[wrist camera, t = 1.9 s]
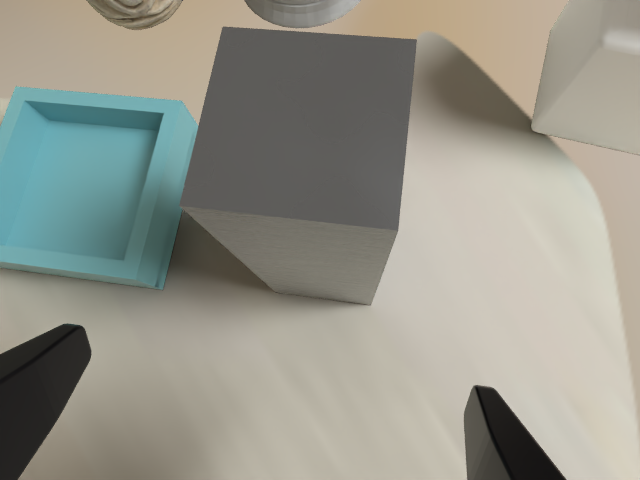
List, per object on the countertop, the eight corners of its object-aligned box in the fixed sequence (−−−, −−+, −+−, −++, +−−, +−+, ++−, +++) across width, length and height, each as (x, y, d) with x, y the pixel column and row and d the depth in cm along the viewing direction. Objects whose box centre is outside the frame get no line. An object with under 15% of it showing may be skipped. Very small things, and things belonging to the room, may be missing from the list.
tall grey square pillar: (370, 305, 22) (397, 230, 9) (275, 292, 22) (179, 205, 10) (381, 213, 23) (416, 39, 11) (290, 203, 24) (222, 26, 11)
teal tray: (162, 289, 23) (135, 279, 20) (0, 267, 24) (-49, 254, 21) (201, 130, 25) (181, 100, 22) (52, 116, 26) (15, 86, 23)
